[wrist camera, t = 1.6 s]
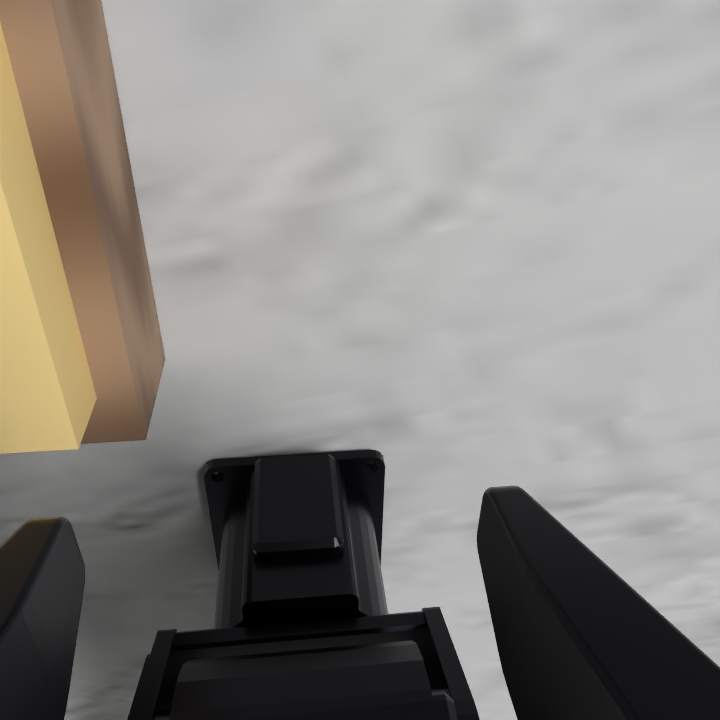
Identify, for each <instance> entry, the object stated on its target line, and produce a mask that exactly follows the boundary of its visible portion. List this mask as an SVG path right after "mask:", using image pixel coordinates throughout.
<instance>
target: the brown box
mask: <svg viewBox="0 0 720 720" xmlns="http://www.w3.org/2000/svg"><path fill="white" fill-rule="evenodd" d="M0 23H1V27H2V31H3V34H4V38H5V42H6V46H7V50H8V54H9V58H10V62H11V66H12V70H13V73H14V77H15V81H16V85H17V89H18V93H19V97H20V101H21V105H22V108H23V112H24V116H25V120H26V124H27V128H28V132H29V136H30V140H31V144H32V147H33V151H34V155H35V159H36V163H37V167H38V171H39V175H40V179H41V183H42V186H43V190H44V194H45V198H46V202H47V206H48V210H49V214H50V218H51V221H52V225H53V229H54V233H55V237H56V241H57V245H58V249H59V253H60V257H61V260H62V264H63V268H64V272H65V276H66V280H67V284H68V288H69V292H70V296H71V299H72V303H73V307H74V311H75V315H76V319H77V323H78V327H79V331H80V334H81V338H82V342H83V346H84V350H85V354H86V358H87V362H88V366H89V370H90V373H91V377H92V381H93V385H94V389H95V393H96V397H97V399H96V402H95V405H94V407H93V410H92V413H91V416H90V419H89V421H88V424H87V427H86V430H85V432H84V435H83V438H82V441H81V443H80V444H83V443H100V442H118V441H135V440H146V436H147V432H148V428H149V424H150V420H151V416H152V411H153V407H154V403H155V399H156V395H157V391H158V386H159V382H160V378H161V374H162V370H163V366H164V362H165V356H164V350H163V345H162V339H161V333H160V328H159V322H158V317H157V311H156V305H155V300H154V294H153V289H152V283H151V277H150V272H149V266H148V261H147V255H146V249H145V244H144V238H143V233H142V227H141V221H140V216H139V210H138V205H137V199H136V194H135V188H134V182H133V177H132V171H131V166H130V160H129V154H128V149H127V143H126V138H125V132H124V126H123V121H122V115H121V110H120V104H119V98H118V93H117V87H116V82H115V76H114V70H113V65H112V59H111V54H110V48H109V43H108V37H107V31H106V26H105V20H104V15H103V9H102V3H101V0H0Z"/></svg>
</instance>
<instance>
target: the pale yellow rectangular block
mask: <svg viewBox="0 0 720 720" xmlns="http://www.w3.org/2000/svg"><path fill="white" fill-rule="evenodd" d="M96 399H97V397H96V393H95V389H94V385H93V381H92V377H91V373H90V370H89V366H88V362H87V358H86V354H85V350H84V346H83V342H82V338H81V334H80V331H79V327H78V323H77V319H76V315H75V311H74V307H73V303H72V299H71V296H70V292H69V288H68V284H67V280H66V276H65V272H64V268H63V264H62V260H61V257H60V253H59V249H58V245H57V241H56V237H55V233H54V229H53V225H52V221H51V218H50V214H49V210H48V206H47V202H46V198H45V194H44V190H43V186H42V183H41V179H40V175H39V171H38V167H37V163H36V159H35V155H34V151H33V147H32V144H31V140H30V136H29V132H28V128H27V124H26V120H25V116H24V112H23V108H22V105H21V101H20V97H19V93H18V89H17V85H16V81H15V77H14V73H13V70H12V66H11V62H10V58H9V54H8V50H7V46H6V42H5V38H4V34H3V31H2V27H1V23H0V454H4V453H21V452H38V451H55V450H72V449H79V446H80V443H81V441H82V438H83V435H84V432H85V430H86V427H87V424H88V421H89V419H90V416H91V413H92V410H93V407H94V405H95V402H96Z"/></svg>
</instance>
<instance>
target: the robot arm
mask: <svg viewBox="0 0 720 720" xmlns="http://www.w3.org/2000/svg"><path fill="white" fill-rule="evenodd" d="M371 462H373V463H375V464H373V465H366V464H368V463H371ZM216 472H222V473H223V474H221V475H217V474H215V473H216ZM384 478H385V464H384V459H383V455H382V454H381V453H380V452H378V451H376V450H361V451H345V452H328V453H312V454H296V455H279V456H263V457H246V458H230V459H217V460H212V461H211V462H209V463H208V464H207V465H206V467H205V475H204V480H205V487H206V493H207V499H208V505H209V512H210V518H211V524H212V531H213V537H214V543H215V550H216V556H217V562H218V568H219V577H218V589H217V601H216V614H215V626H214V629H208V630H196V631H184V632H177V629H171V630H160V631H158V632H157V635H156V638H155V641H154V645H153V648H152V651H151V654H149V655H147V657H146V660H145V663H144V667H143V670H142V673H141V677H140V680H139V683H138V686H137V690H136V693H135V696H134V699H133V703H132V706H131V709H130V713H129V716H128V719H127V720H479V716H478V712H477V709H476V706H475V703H474V700H473V697H472V694H471V691H470V689H469V686H468V683H467V681H466V678H465V675H464V672H463V670H462V667H461V664H460V661H459V659H458V656H457V653H456V651H455V648H454V645H453V642H452V640H451V637H450V634H449V632H448V629H447V626H446V623H445V621H444V618H443V615H442V613H441V610H440V607H431V608H422V611H419V612H407V613H395V614H388V610H387V604H386V598H385V592H384V585H383V579H382V573H381V567H380V566H381V545H382V523H383V500H384ZM477 548H478V554H479V559H480V564H481V569H482V574H483V579H484V584H485V589H486V593H487V598H488V603H489V608H490V613H491V618H492V623H493V628H494V632H495V637H496V642H497V647H498V652H499V656H500V661H501V665H502V670H503V674H504V677H505V680H506V684H507V687H508V691H509V694H510V697H511V700H512V703H513V706H514V709H515V712H516V716H517V719H518V720H720V667H719V666H718V665H717V664H716V663H715V662H713V661H712V660H711V659H710V658H709V657H708V656H707V655H706V654H705V653H704V652H702V651H701V650H700V649H699V648H698V647H697V646H696V645H695V644H694V643H692V642H691V641H690V640H689V639H688V638H687V637H686V636H685V635H684V634H682V633H681V632H680V631H679V630H678V629H677V628H676V627H675V626H674V625H673V624H671V623H670V622H669V621H668V620H667V619H666V618H665V617H664V616H663V615H661V614H660V613H659V612H658V611H657V610H656V609H655V608H654V607H653V606H652V605H650V604H649V603H648V602H647V601H646V600H645V599H644V598H643V597H642V596H640V595H639V594H638V593H637V592H636V591H635V590H634V589H633V588H632V587H631V586H629V585H628V584H627V583H626V582H625V581H624V580H623V579H622V578H621V577H619V576H618V575H617V574H616V573H615V572H614V571H613V570H612V569H611V568H610V567H608V566H607V565H606V564H605V563H604V562H603V561H602V560H601V559H600V558H598V557H597V556H596V555H595V554H594V553H593V552H592V551H591V550H590V549H589V548H587V547H586V546H585V545H584V544H583V543H582V542H581V541H580V540H579V539H577V538H576V537H575V536H574V535H573V534H572V533H571V532H570V531H569V530H567V529H566V528H565V527H564V526H563V525H562V524H561V523H560V522H559V521H558V520H556V519H555V518H554V517H553V516H552V515H551V514H550V513H549V512H548V511H546V510H545V509H544V508H543V507H542V506H541V505H540V504H539V503H538V502H537V501H535V500H534V499H533V498H532V497H531V496H530V495H529V494H528V493H527V492H525V491H524V490H523V489H522V488H520V487H518V486H504V487H491V488H488V489H487V490H486V491H485V493H484V495H483V499H482V505H481V512H480V518H479V525H478V531H477ZM84 584H85V567H84V562H83V559H82V556H81V553H80V550H79V547H78V544H77V541H76V538H75V535H74V532H73V528H72V526H71V524H70V522H69V521H68V519H66V518H64V517H52V518H38V519H32V520H29V521H28V522H26V523H25V524H23V525H22V526H21V527H20V528H19V529H18V530H17V531H16V532H15V533H14V534H13V535H12V536H11V537H10V538H9V539H8V540H7V541H6V542H5V543H4V544H3V545H2V546H1V547H0V720H64V716H65V712H66V706H67V700H68V694H69V688H70V681H71V674H72V667H73V660H74V653H75V646H76V639H77V633H78V626H79V619H80V612H81V605H82V598H83V591H84Z"/></svg>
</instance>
